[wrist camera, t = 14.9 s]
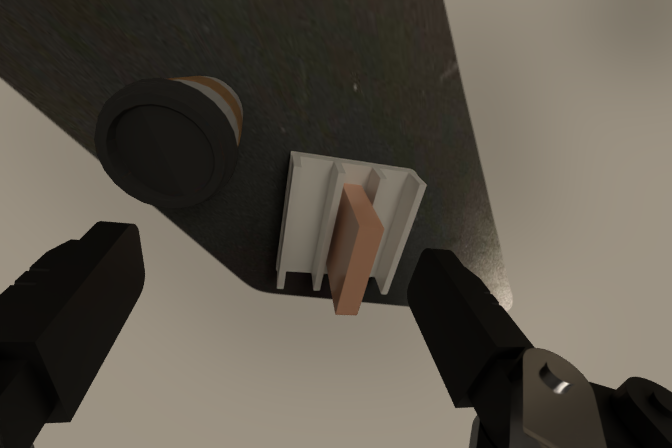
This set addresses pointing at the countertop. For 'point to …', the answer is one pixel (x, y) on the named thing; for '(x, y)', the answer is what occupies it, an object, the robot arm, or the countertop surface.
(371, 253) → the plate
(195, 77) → the coffee cup
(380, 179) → the dish rack
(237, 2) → the countertop surface
